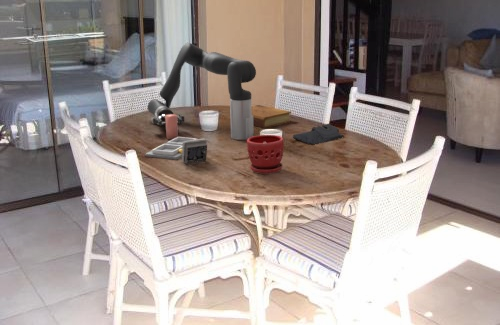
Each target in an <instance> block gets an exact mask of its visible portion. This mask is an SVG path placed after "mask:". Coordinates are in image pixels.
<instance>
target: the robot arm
mask: <svg viewBox="0 0 500 325" xmlns="http://www.w3.org/2000/svg"><path fill="white" fill-rule="evenodd" d="M185 63H186V64H188V65H190V66H193V67H197V68H203V69H205V70H206V71H208V72H210V73H213V74H216V75H221V76H227V87H228V94H229V108H230V109H229V110H230V113H229V115H230V116H229V117H230V138H231V139H232V140H238V141H240V140H241V141H243V140H245V141H246V140H247V139H248V138H250V137H253V136H255V135H254V126H253V115H252V109H251V106H252V93H251V91H249V90H246V89H244V88H243V87H242V84H243V83H249V82H252V81H253V80H254V79H255V78H256V76H257V71H256V70H257V69H256V66H255V65H254V64H253V63H252V62H251V61H250V60H243V59H237V58H234V57H232V56H228V55H225V54H222V53H220V52H216V51H215V52H214V51H210V52H208V51H205V50H203V49H202V48H200V47H198V46H197V45H195V44H193V43H191V42H185V43H184V44H183V45H182V46H181V47H180V50H179V51H178V54H177V56H176V59H175V61H174V63H173V65H172V68H171V71H170V74H169V75H168V78H166V81H165V83H164V84H163V86H162V88H161V90H160V91H159V97H161V98H162V100H164V101H165V103H164V102H162V101H160V100H158V99H156V98H154V99H151V100H150V101H149V102H148V104H147V110H148V112H149V113H150V114H152V116H151V122H152V124H153V125H159V126H163V125H164V126H166V119H165V116H166V115H169V114H174V112H173V110H171V108H170V107H171V104H172V101H173V99H174V98H175V96H176V94H177V93H178V91H179V88H180V86H181V74H182V73H181V72H182V68H183V66H184V64H185ZM184 122H185V116H184V115H183V114H182V113H179V114H178V115H177V124H179V125H181V124H182V123H184Z"/></svg>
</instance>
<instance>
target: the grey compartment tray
mask: <svg viewBox="0 0 500 325" xmlns="http://www.w3.org/2000/svg"><path fill="white" fill-rule="evenodd" d="M197 139H198V138H197V137H196V138H193V137H184V136H183V137H182V136H178V137H177V138H175V139H170V140H169V141H167V142H165V143H163V144H161V145H159V146H157V147H155V148H153V149H152V150H150V151H147V152H146V153H145V157H146V158H147V157H149V158H158V159H168V160H178V159H180V158H182V147H183V142H184V141H188V140H197Z"/></svg>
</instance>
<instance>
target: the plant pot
mask: <svg viewBox="0 0 500 325" xmlns="http://www.w3.org/2000/svg"><path fill="white" fill-rule="evenodd" d="M284 145H285V144H284V137H282V136H280V135H276V134H261V135H254V136H253V137H250V138H248V139H246V148H247V153H248V158H249V161H250V163H251V164H250V167H249V168H250V170H252V171H253V172H254V173H257V174H265V175H267V174H274V173H275V174H276V173H278V172H279V171H281V170H282V168H283V163H282V159H283V157H284V156H283V155H284Z"/></svg>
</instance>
